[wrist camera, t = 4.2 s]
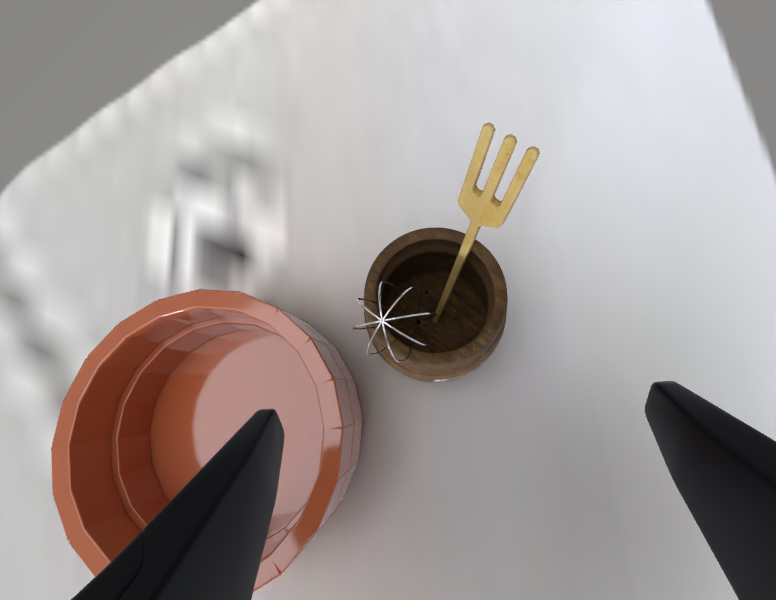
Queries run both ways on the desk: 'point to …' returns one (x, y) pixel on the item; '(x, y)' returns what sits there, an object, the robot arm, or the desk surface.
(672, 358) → the desk surface
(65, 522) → the pot
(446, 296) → the utensil holder
